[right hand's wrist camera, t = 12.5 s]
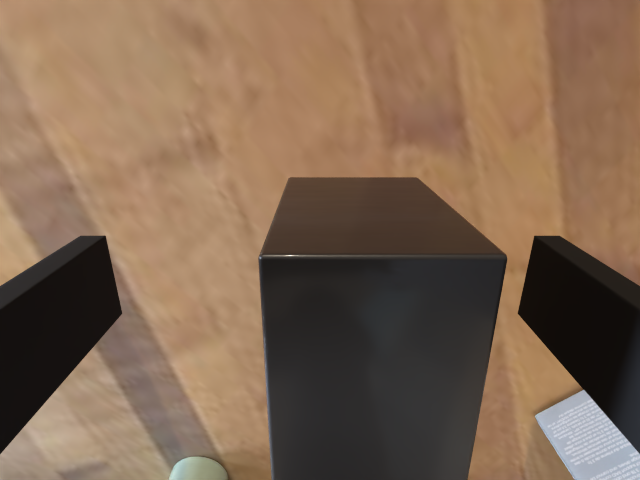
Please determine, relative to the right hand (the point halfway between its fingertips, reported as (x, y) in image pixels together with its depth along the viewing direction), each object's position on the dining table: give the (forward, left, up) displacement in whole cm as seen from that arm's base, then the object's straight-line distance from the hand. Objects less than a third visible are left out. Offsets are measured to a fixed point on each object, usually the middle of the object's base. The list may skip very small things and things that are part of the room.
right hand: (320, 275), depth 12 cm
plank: (+1, -10, -2) cm, 11 cm away
